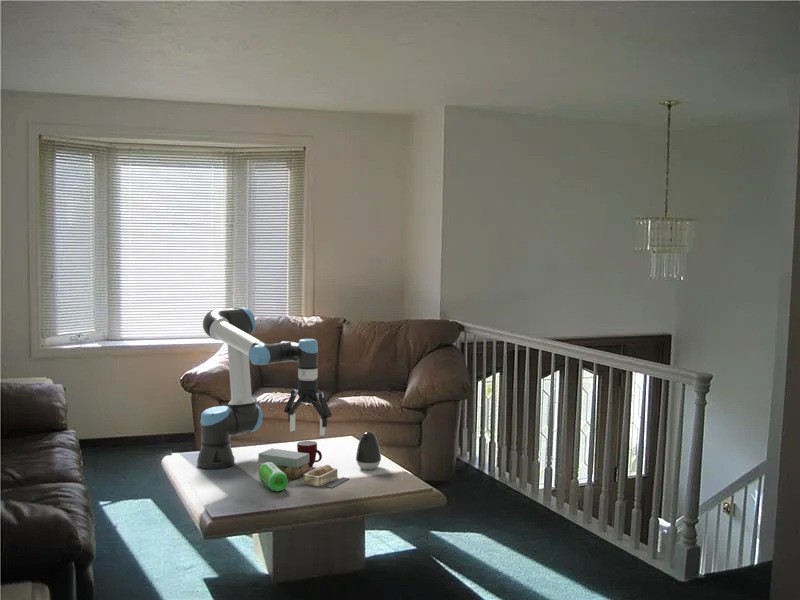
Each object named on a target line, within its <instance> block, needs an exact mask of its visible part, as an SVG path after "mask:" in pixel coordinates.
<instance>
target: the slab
mask: <svg viewBox="0 0 800 600" xmlns="http://www.w3.org/2000/svg"><path fill="white" fill-rule="evenodd" d="M257 460H258V463H260V464H263V463H266V462H272V463H274V464H275V465H279V466H286V467H293V468H298V467H300V466H302V465H305V464H307V463H309V453H301V452H298V451H294V450H293V451H292V450H286V449H278V448H270V449H267V450H264V451H262V452H259V453H258V459H257Z"/></svg>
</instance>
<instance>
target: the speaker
mask: <svg viewBox="0 0 800 600" xmlns="http://www.w3.org/2000/svg"><path fill="white" fill-rule="evenodd" d="M261 464H262V465H261ZM261 464H260V465H261V466H260V465H259V466H260V468H259V467H258V475H259V477H260V479H262V481H263V482H265V484H266V486H268V488H269V489H271V490H272V491H273V492H274V491H275V492H281V491H284V490H285V489H286V488H287V486H288V482H289V480H288V479H287V476H286V474H285V473H284V472H282V471H281V470H280V469H279V468H278V467H277V466H276V465H275V464H274V463H272V462H266V463H261Z"/></svg>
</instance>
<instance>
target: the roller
mask: <svg viewBox="0 0 800 600" xmlns="http://www.w3.org/2000/svg"><path fill="white" fill-rule="evenodd" d="M322 466H323V467H321V468H319V469H316V470H314V471H312V472H310V473H309V475H314V476H321V475H323V474H325V473H327V472H329V471H331V470H333V469H332V468H333V467H332V466H331V465H330V464H324V465H322Z"/></svg>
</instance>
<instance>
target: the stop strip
mask: <svg viewBox="0 0 800 600" xmlns="http://www.w3.org/2000/svg"><path fill="white" fill-rule="evenodd" d="M349 480H350V477H344V476H343V477H340V478H339V479H337V480H336V479H335V481H334V480H333V481H332V482H331V483H329V484H327V485H325V486H324V487H325V488H327V489H333V488H335V487H337V486H339V485H341V484H343V483H344V482H346V481H349Z"/></svg>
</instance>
